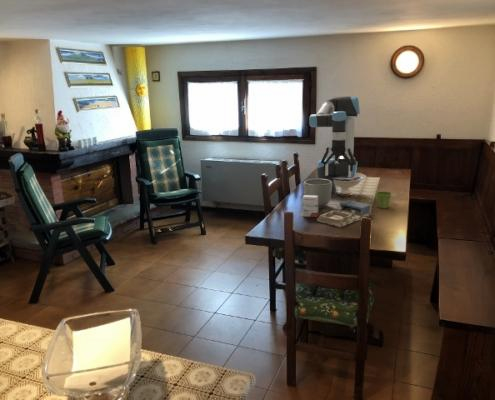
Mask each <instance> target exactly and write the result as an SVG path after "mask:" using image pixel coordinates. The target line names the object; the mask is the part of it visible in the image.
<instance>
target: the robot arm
mask: <svg viewBox="0 0 495 400" xmlns="http://www.w3.org/2000/svg"><path fill="white" fill-rule="evenodd" d="M358 115H360V101H359V97H358V96H353V95H351V96H350V95H349V96H334V97H330V98H328V99H326V100H324V101H323V102H322V103H320V106H319V110H318V111H317V112H316V114H315V113H314V114H310V116H309V120H308V121H309V122H308V123H309V126H310V127H311V128H331V139H332V140H331V147H329V146H327V147H326V149H325V153H324V154H323V157H322V159H320V160H318V161H317V166H316V179H328V180H331V181H332V192H331V195H334V194H337V192H338V191H337V186H336V182H335V179H354V178H355V177H356V174H357V168H358V161H357V160H356V158H355V156H354V150H355V149H354V146H355V141H354V140H355V122H356V121H355V120H356V119H357V118H358ZM330 151H331V154H330V155H329V153H330ZM328 155H329V156H328ZM334 156H335V157H337V156H338V158H337V160H336V159H335V158H334Z"/></svg>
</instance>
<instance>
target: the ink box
mask: <svg viewBox="0 0 495 400" xmlns="http://www.w3.org/2000/svg"><path fill="white" fill-rule="evenodd" d="M301 199H302V200H301V201H302V217H308V218H309V217H312V218H318V216H319V209H318V196H312V195H303V196H302V197H301Z"/></svg>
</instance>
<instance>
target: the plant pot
mask: <svg viewBox="0 0 495 400" xmlns="http://www.w3.org/2000/svg"><path fill="white" fill-rule="evenodd" d="M392 195H393V193H392V192H389V191H376V192H375V196H376V202H377V208H380V209H387V208H389V205H390V200H391V197H392Z"/></svg>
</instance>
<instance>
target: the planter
mask: <svg viewBox="0 0 495 400" xmlns="http://www.w3.org/2000/svg"><path fill="white" fill-rule="evenodd" d="M331 192H332V181H331V180H328V179H317V178H309V179H306V180H304V181H303V194H304V195H312V196H318V210H319V209H324V208H325V207H326V206H327V205H328V204H329V203H330V202H331V198H332V194H331ZM304 195H303V196H304Z"/></svg>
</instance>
